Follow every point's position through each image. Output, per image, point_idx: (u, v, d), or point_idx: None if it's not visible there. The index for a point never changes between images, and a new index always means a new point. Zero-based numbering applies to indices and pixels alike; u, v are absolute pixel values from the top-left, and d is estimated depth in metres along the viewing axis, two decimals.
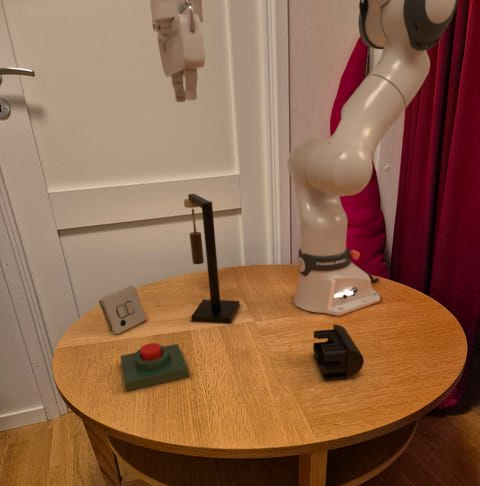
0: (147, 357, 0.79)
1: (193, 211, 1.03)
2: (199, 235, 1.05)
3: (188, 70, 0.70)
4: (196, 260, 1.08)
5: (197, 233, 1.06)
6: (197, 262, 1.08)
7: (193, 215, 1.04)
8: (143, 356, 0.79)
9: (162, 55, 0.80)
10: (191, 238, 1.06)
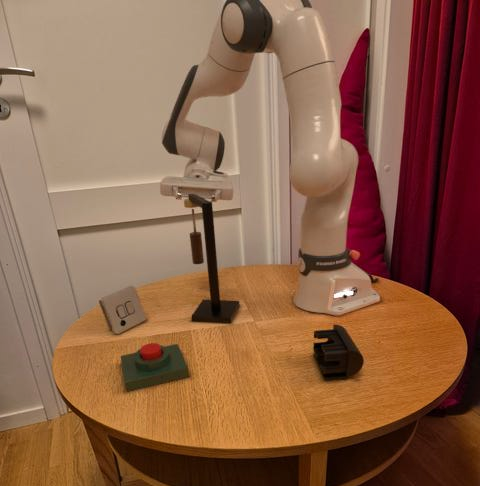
0: (147, 357, 0.79)
1: (193, 211, 1.03)
2: (199, 235, 1.05)
3: (172, 192, 1.12)
4: (196, 260, 1.08)
5: (197, 233, 1.06)
6: (197, 262, 1.08)
7: (193, 215, 1.04)
8: (143, 356, 0.79)
9: None
10: (191, 238, 1.06)
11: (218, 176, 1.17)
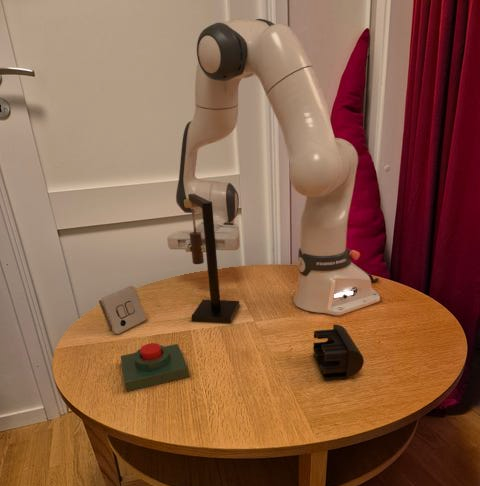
0: (147, 357, 0.79)
1: (193, 211, 1.03)
2: (199, 235, 1.05)
3: None
4: (196, 260, 1.08)
5: (197, 233, 1.06)
6: (197, 262, 1.08)
7: (193, 215, 1.04)
8: (143, 356, 0.79)
9: None
10: (191, 238, 1.06)
11: (227, 227, 1.15)
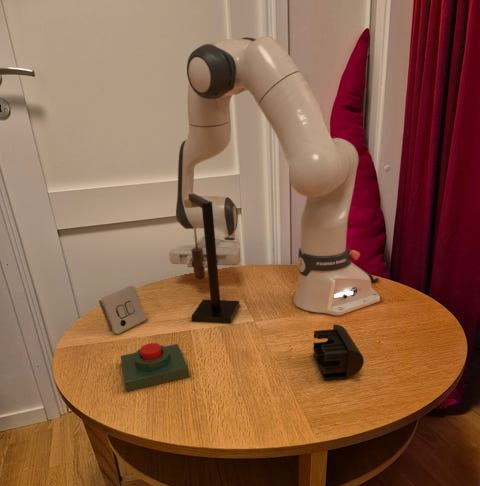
0: (147, 357, 0.79)
1: (195, 228, 1.05)
2: (201, 251, 1.07)
3: None
4: (198, 275, 1.10)
5: (199, 249, 1.08)
6: (199, 277, 1.10)
7: (195, 232, 1.06)
8: (143, 356, 0.79)
9: None
10: (193, 254, 1.08)
11: (228, 242, 1.17)
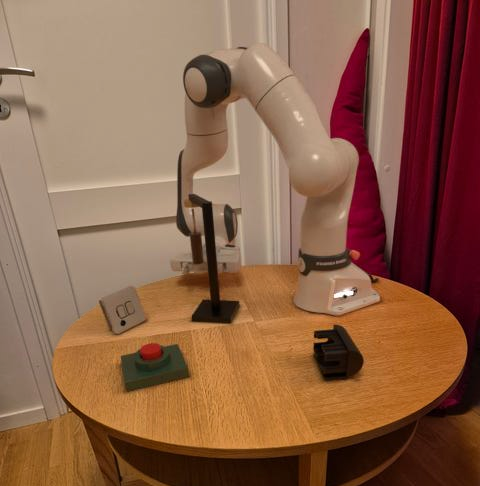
0: (147, 357, 0.79)
1: (193, 211, 1.03)
2: (199, 235, 1.05)
3: None
4: (196, 260, 1.08)
5: (197, 233, 1.06)
6: (197, 262, 1.08)
7: (193, 215, 1.04)
8: (143, 356, 0.79)
9: None
10: (191, 238, 1.06)
11: (228, 249, 1.18)
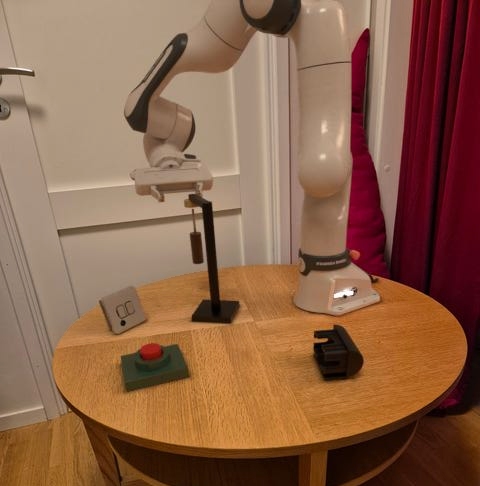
0: (147, 357, 0.79)
1: (193, 211, 1.03)
2: (199, 235, 1.05)
3: (150, 191, 1.03)
4: (196, 260, 1.08)
5: (197, 233, 1.06)
6: (197, 262, 1.08)
7: (193, 215, 1.04)
8: (143, 356, 0.79)
9: None
10: (191, 238, 1.06)
11: (191, 162, 1.08)
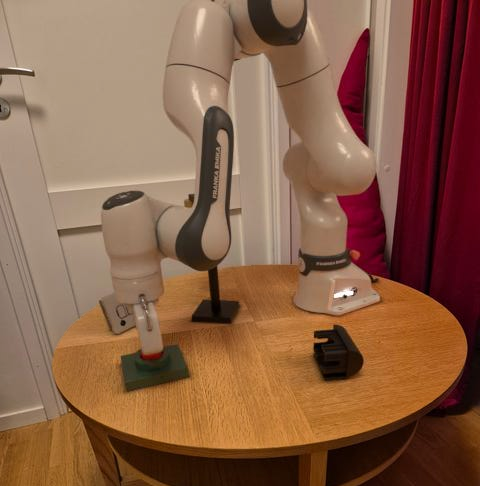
0: None
1: None
2: None
3: None
4: None
5: None
6: None
7: None
8: (144, 359, 0.79)
9: None
10: None
11: None
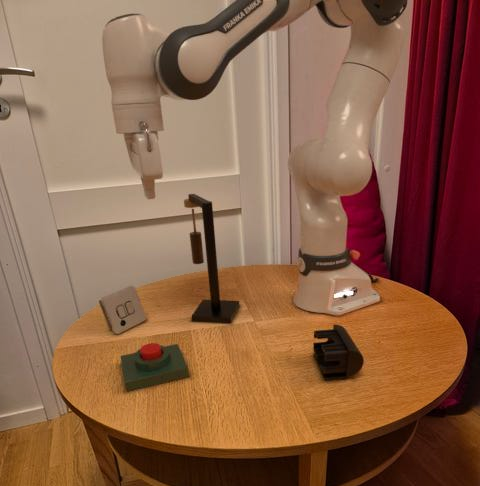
0: (147, 357, 0.79)
1: (193, 211, 1.03)
2: (199, 235, 1.05)
3: None
4: (196, 260, 1.08)
5: (197, 233, 1.06)
6: (197, 262, 1.08)
7: (193, 215, 1.04)
8: (143, 356, 0.79)
9: (129, 151, 0.85)
10: (191, 238, 1.06)
11: None
